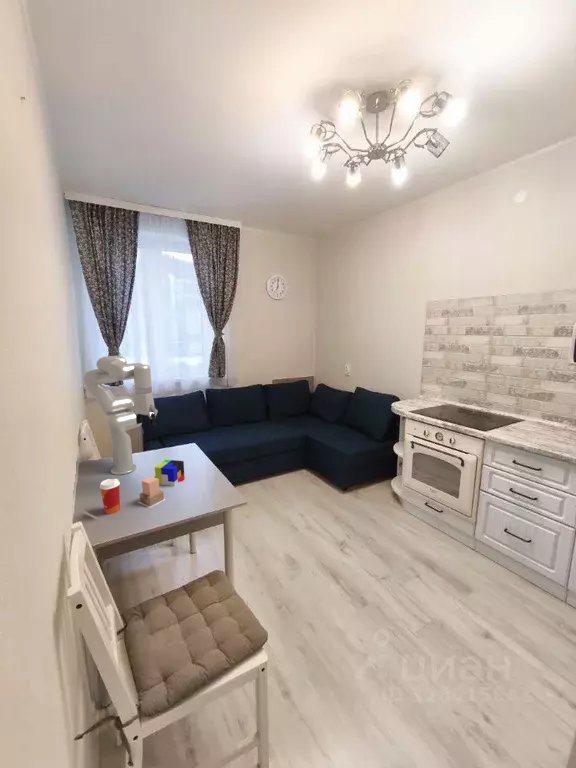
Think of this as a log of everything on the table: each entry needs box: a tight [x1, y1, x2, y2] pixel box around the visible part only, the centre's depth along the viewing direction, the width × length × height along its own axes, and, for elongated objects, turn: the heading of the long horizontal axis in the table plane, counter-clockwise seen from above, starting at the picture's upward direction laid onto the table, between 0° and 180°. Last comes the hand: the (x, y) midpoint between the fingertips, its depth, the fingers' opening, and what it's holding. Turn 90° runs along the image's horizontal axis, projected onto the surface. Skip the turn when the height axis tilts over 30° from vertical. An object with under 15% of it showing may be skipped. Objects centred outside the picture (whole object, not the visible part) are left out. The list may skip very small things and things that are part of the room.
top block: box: [141, 476, 161, 496], centre depth 155 cm, size 5×5×6 cm
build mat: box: [137, 498, 167, 509], centre depth 158 cm, size 16×12×1 cm
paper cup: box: [99, 478, 121, 515], centre depth 147 cm, size 8×8×14 cm
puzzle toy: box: [154, 459, 186, 487], centre depth 175 cm, size 10×10×10 cm
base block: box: [139, 489, 165, 507], centre depth 156 cm, size 7×7×4 cm
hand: (146, 424), depth 171 cm, fingers open, 9 cm apart
